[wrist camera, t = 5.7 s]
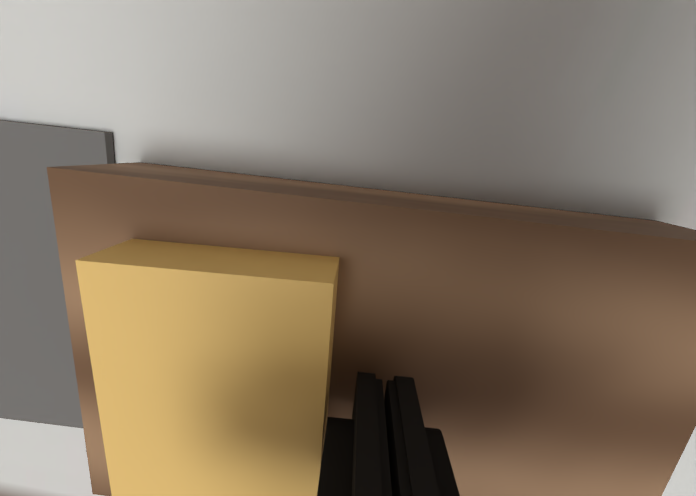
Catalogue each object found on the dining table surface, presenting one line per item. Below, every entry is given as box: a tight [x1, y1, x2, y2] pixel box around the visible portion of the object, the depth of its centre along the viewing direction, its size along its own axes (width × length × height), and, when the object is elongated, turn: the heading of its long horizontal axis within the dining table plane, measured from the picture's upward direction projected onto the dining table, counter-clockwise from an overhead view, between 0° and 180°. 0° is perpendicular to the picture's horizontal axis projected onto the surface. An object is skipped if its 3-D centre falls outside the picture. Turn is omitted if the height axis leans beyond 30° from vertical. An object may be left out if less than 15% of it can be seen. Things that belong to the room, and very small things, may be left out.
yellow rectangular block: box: [75, 239, 340, 496], centre depth 10 cm, size 9×6×2 cm, turn 176°
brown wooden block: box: [47, 162, 696, 496], centre depth 13 cm, size 12×20×4 cm, turn 84°
